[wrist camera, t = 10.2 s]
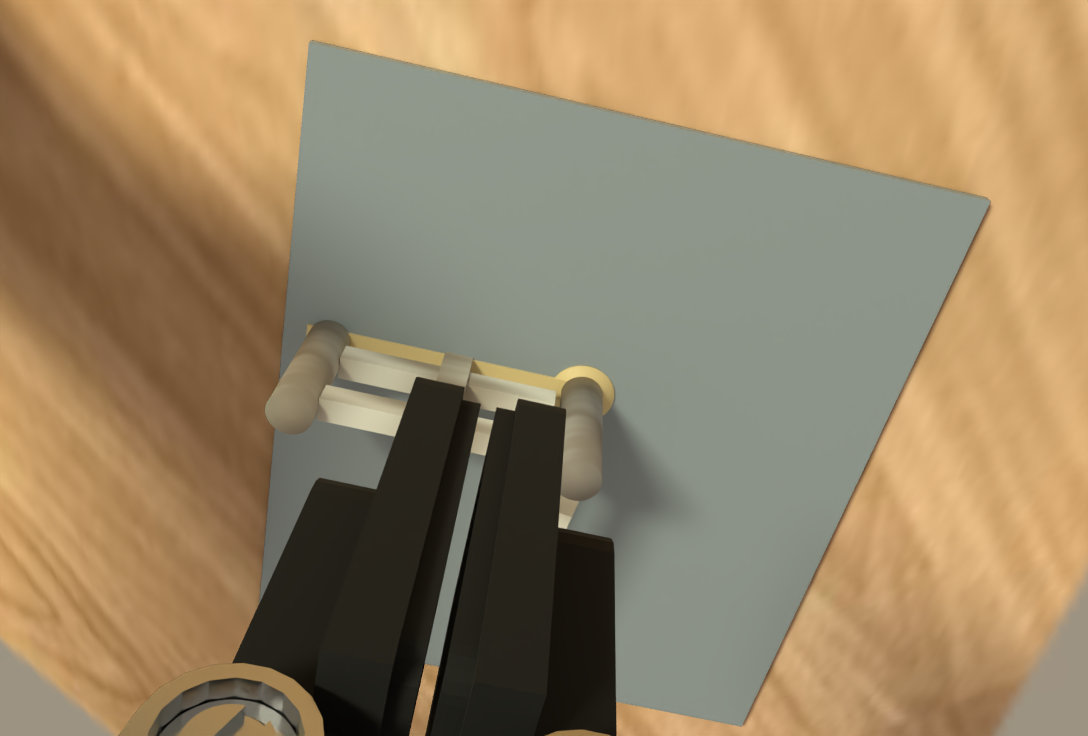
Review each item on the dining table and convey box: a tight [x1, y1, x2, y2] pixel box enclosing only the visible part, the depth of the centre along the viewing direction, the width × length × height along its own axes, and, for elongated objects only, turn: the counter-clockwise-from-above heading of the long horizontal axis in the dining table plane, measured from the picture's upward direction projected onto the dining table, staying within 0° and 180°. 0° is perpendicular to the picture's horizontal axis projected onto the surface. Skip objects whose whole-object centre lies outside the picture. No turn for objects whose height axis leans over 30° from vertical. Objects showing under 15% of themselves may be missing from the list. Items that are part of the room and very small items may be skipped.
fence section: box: [265, 320, 603, 501], centre depth 38 cm, size 13×2×6 cm, turn 78°
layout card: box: [259, 40, 991, 727], centre depth 43 cm, size 26×30×1 cm
